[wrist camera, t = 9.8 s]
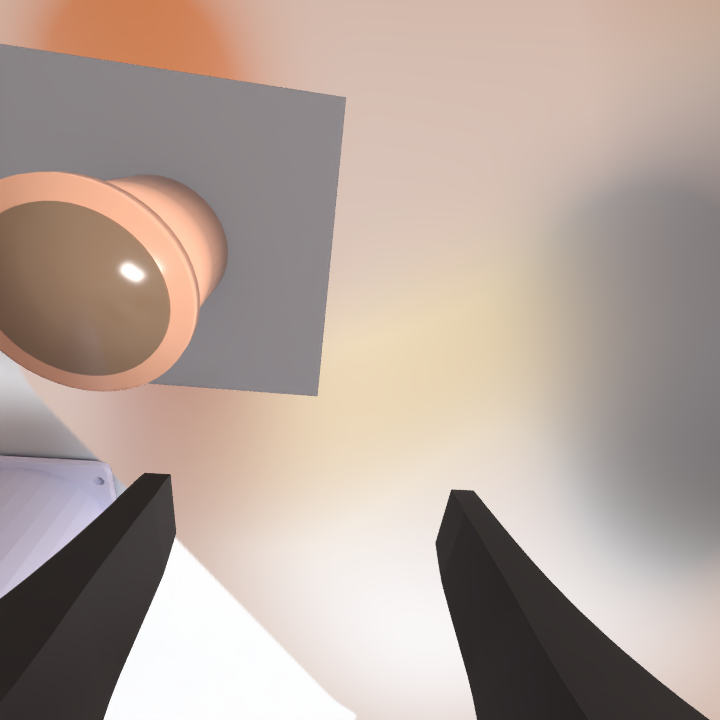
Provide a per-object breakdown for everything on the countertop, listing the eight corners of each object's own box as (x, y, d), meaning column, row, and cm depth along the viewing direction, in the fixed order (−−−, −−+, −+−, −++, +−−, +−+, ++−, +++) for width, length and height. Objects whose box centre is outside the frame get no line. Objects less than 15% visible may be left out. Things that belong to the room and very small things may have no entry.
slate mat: (317, 389, 20) (317, 396, 20) (50, 368, 19) (42, 375, 18) (345, 99, 15) (345, 97, 14) (-26, 41, 14) (-41, 37, 13)
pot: (241, 320, 18) (201, 397, 12) (96, 311, 17) (-13, 390, 12) (234, 169, 15) (180, 184, 10) (64, 154, 15) (-96, 160, 9)
